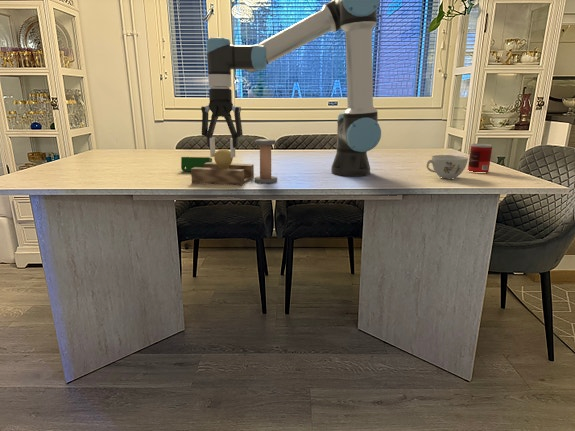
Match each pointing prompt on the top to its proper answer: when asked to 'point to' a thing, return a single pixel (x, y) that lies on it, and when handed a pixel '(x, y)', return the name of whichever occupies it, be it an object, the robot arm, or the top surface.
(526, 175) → the top surface
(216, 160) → the light bulb
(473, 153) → the canned food
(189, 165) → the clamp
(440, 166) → the teacup
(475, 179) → the top surface
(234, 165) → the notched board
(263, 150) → the bobbin
